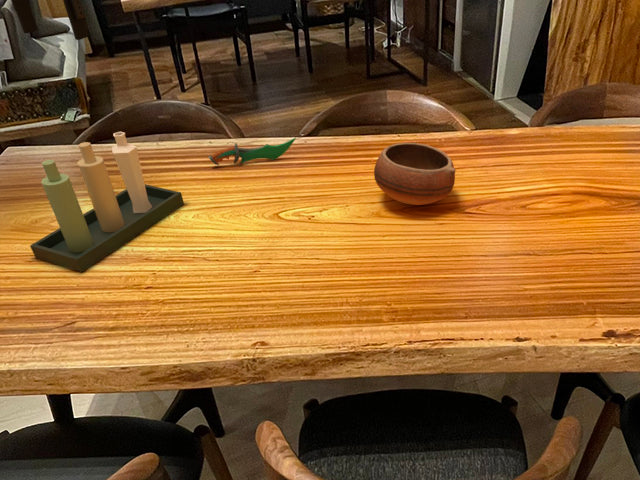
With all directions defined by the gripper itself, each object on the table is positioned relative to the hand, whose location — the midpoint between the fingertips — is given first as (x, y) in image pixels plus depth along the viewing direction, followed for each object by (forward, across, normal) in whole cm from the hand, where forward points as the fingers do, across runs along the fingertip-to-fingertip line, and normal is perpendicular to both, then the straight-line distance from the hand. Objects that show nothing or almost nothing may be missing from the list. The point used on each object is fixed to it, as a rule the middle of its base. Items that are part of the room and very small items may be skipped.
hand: (56, 35), depth 117 cm
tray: (+29, -18, +16) cm, 37 cm away
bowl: (+29, -66, -18) cm, 74 cm away
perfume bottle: (+28, -18, +8) cm, 35 cm away
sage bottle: (+28, -18, +24) cm, 41 cm away
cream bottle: (+28, -18, +16) cm, 37 cm away
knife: (+29, -26, -20) cm, 44 cm away
